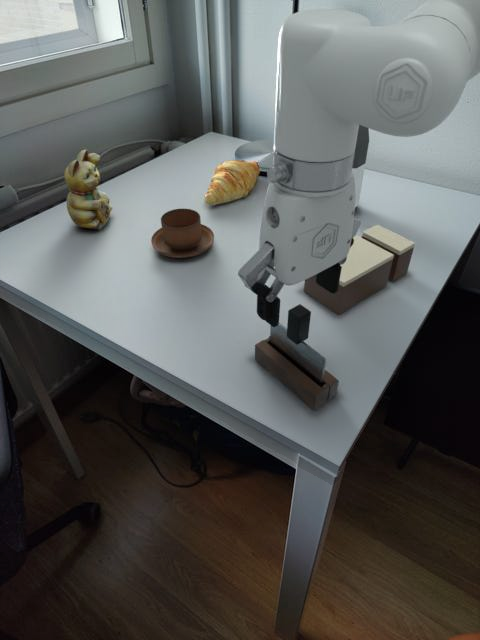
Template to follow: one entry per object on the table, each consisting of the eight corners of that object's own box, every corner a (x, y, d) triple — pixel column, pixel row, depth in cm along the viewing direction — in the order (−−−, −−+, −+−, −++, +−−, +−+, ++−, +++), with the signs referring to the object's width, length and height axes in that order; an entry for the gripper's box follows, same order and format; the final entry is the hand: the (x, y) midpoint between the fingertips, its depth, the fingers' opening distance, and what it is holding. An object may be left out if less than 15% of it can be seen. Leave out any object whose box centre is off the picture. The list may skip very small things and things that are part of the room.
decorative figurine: (102, 236, 93) (85, 163, 83) (63, 234, 94) (41, 162, 84) (118, 212, 100) (103, 143, 90) (81, 211, 101) (63, 142, 91)
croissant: (218, 226, 102) (232, 200, 96) (184, 197, 102) (195, 170, 96) (265, 186, 115) (279, 162, 109) (234, 161, 115) (247, 135, 109)
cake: (386, 286, 79) (394, 254, 75) (338, 315, 74) (343, 283, 69) (351, 265, 84) (356, 234, 80) (303, 291, 78) (306, 259, 74)
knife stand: (336, 395, 62) (339, 380, 60) (313, 411, 60) (316, 396, 58) (276, 346, 69) (277, 331, 67) (254, 359, 67) (254, 344, 65)
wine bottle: (353, 221, 96) (380, 58, 76) (315, 214, 98) (332, 55, 78) (360, 203, 102) (386, 48, 82) (324, 198, 104) (341, 45, 84)
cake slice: (406, 273, 82) (415, 242, 77) (392, 282, 80) (400, 251, 76) (371, 254, 86) (377, 224, 82) (357, 262, 85) (362, 231, 80)
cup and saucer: (153, 232, 94) (149, 204, 90) (212, 228, 95) (211, 200, 90) (151, 266, 85) (146, 236, 81) (216, 261, 86) (214, 232, 82)
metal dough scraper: (325, 394, 62) (335, 328, 54) (314, 402, 61) (323, 336, 53) (275, 353, 68) (278, 288, 60) (264, 359, 67) (266, 294, 59)
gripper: (269, 208, 38) (263, 353, 49) (400, 155, 46) (369, 290, 57) (216, 177, 42) (221, 316, 54) (344, 133, 50) (325, 263, 62)
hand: (298, 303), depth 56 cm, fingers open, 9 cm apart
